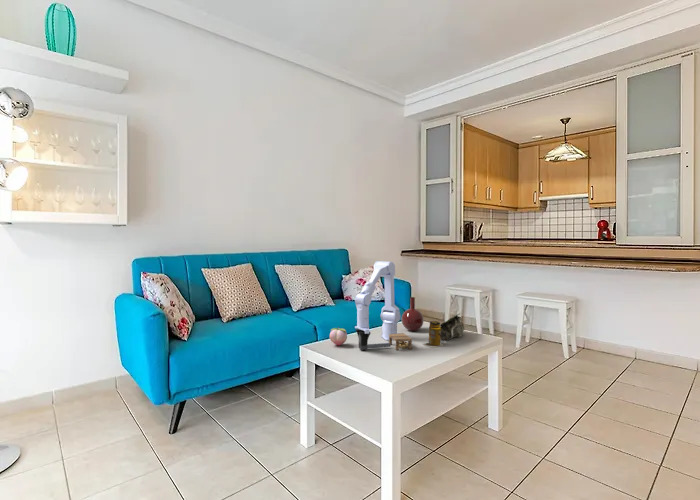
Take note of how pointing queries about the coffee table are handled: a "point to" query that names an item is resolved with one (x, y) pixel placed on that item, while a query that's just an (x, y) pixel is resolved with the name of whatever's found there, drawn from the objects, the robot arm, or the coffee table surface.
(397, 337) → the stand
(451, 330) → the hollow geode rock
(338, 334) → the decorative fruit
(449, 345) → the coffee table surface
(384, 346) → the dark grey mallet
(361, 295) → the robot arm
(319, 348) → the coffee table surface
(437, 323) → the condiment
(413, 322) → the round-bottom flask
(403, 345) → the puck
